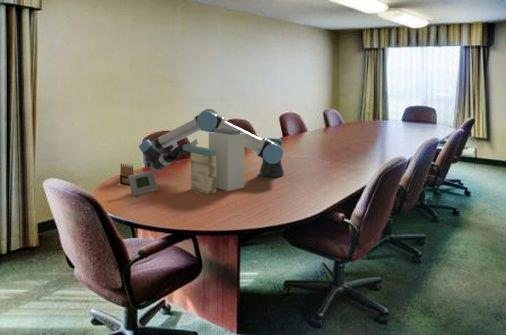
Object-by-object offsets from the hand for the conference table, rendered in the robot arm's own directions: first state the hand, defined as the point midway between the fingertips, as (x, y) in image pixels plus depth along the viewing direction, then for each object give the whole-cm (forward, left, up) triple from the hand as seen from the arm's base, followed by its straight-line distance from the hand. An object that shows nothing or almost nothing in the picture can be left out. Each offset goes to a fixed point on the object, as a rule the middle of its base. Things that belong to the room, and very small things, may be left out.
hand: (186, 142), depth 248 cm
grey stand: (-15, +15, -24) cm, 33 cm away
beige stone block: (0, +14, -24) cm, 28 cm away
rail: (0, +10, -4) cm, 11 cm away
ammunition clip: (+24, -24, -25) cm, 42 cm away
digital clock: (+26, -3, -25) cm, 36 cm away
